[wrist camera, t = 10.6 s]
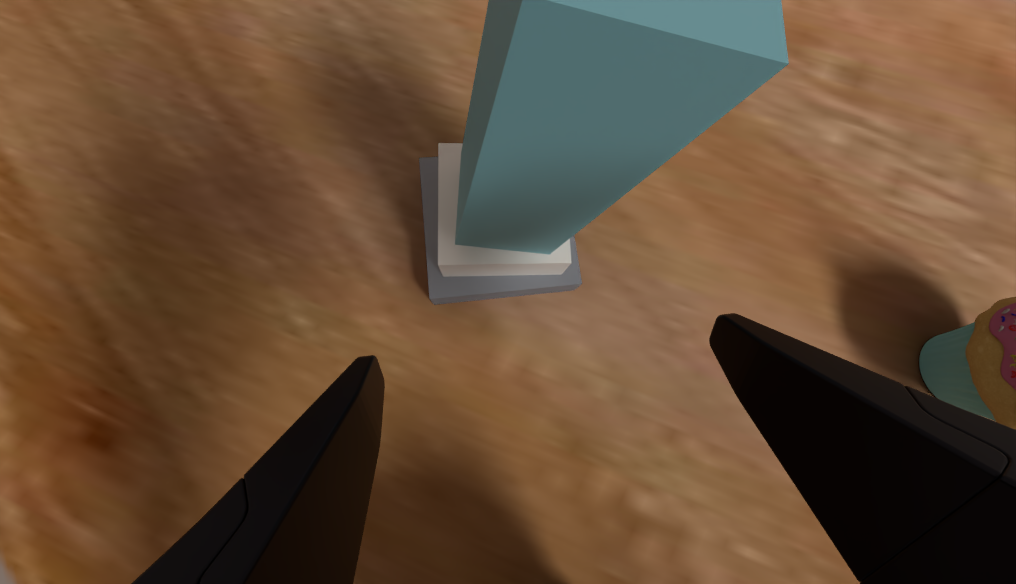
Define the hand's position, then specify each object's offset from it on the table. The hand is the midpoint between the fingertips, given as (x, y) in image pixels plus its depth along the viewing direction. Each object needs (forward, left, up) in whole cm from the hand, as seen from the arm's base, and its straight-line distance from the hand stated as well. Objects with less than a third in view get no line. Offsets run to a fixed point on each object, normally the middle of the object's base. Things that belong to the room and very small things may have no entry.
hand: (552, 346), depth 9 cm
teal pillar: (+8, +2, -8) cm, 11 cm away
